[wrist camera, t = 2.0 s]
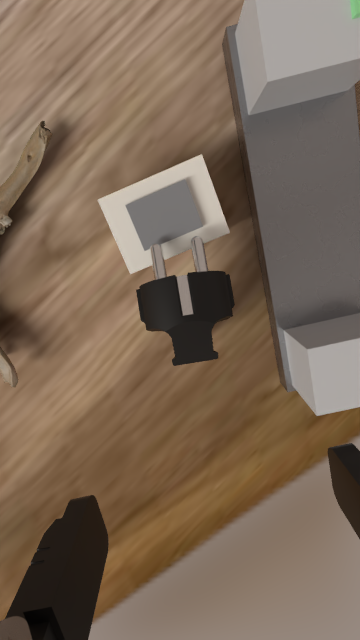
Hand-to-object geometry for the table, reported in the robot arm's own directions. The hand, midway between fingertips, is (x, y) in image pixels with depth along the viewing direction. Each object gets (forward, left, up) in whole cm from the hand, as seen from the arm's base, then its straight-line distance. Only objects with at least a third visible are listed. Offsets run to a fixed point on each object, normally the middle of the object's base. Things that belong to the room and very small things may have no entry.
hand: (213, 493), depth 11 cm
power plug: (-2, 0, -19) cm, 19 cm away
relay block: (-10, 0, -19) cm, 21 cm away
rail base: (-8, +11, -18) cm, 23 cm away
